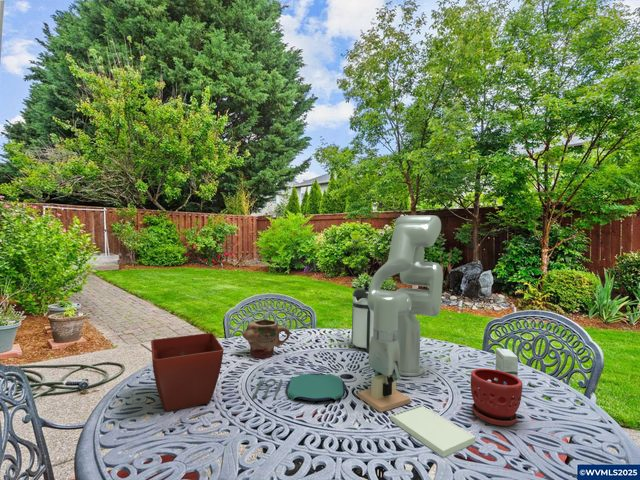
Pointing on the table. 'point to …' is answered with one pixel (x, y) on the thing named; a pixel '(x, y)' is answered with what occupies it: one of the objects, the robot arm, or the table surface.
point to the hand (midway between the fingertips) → (383, 392)
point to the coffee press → (361, 319)
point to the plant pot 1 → (186, 369)
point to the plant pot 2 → (495, 396)
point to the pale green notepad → (433, 430)
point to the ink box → (506, 362)
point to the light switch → (377, 398)
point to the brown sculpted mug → (264, 337)
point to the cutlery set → (309, 387)
